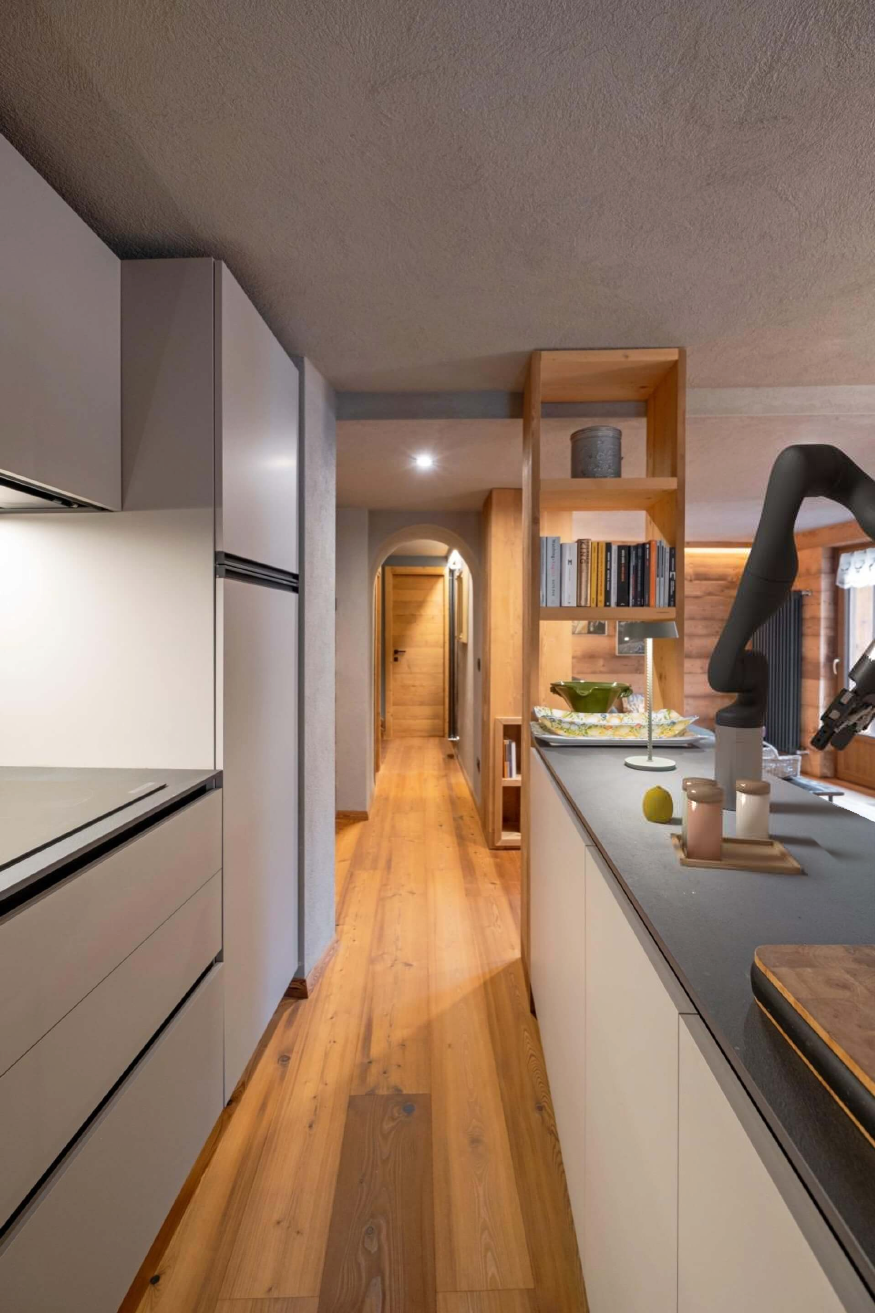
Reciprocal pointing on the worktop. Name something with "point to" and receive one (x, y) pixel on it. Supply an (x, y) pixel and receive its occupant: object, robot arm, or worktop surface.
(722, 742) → the robot arm
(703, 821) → the terracotta jar
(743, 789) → the white jar
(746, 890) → the worktop surface
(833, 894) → the worktop surface
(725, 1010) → the worktop surface
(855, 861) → the worktop surface
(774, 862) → the tray
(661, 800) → the lemon
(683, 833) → the sage jar
